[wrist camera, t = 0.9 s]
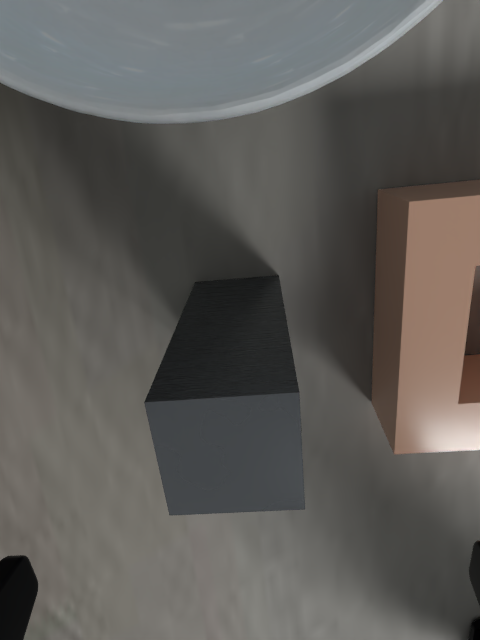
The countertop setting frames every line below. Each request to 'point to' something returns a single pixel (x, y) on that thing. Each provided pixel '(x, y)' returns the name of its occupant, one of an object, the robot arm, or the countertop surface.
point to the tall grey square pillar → (229, 403)
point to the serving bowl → (190, 52)
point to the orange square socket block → (426, 317)
